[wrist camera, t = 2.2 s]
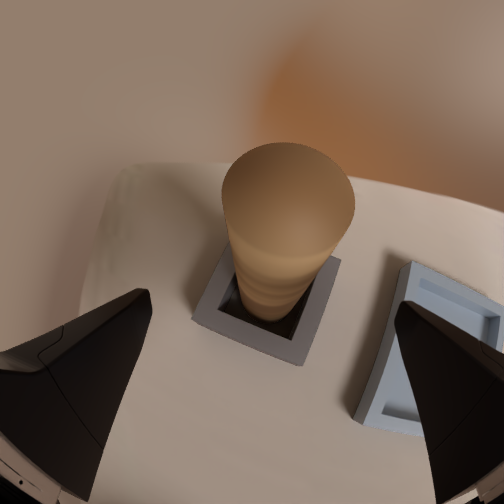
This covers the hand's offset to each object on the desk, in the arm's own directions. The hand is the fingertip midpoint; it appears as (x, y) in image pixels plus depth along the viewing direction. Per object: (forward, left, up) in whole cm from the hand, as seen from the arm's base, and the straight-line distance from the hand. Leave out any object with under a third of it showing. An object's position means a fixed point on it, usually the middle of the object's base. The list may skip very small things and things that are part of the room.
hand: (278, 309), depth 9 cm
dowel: (+2, +1, -10) cm, 10 cm away
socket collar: (+2, +1, -10) cm, 10 cm away
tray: (+2, -14, -10) cm, 17 cm away
